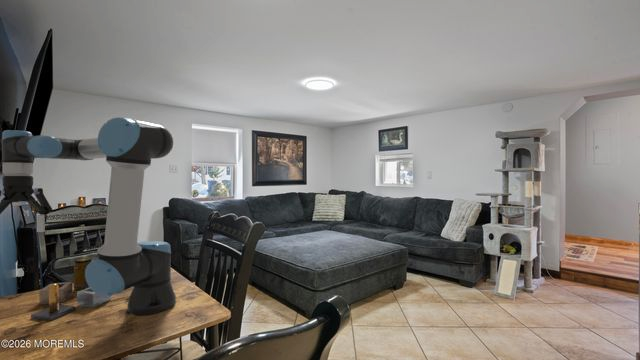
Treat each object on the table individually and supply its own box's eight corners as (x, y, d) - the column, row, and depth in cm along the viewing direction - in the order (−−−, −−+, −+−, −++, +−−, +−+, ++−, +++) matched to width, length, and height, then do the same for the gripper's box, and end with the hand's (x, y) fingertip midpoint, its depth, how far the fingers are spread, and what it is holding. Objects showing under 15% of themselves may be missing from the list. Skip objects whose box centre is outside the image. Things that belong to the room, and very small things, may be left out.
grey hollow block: (110, 299, 111) (110, 286, 111) (93, 308, 104) (93, 293, 104) (95, 297, 113) (95, 284, 112) (77, 305, 106) (77, 292, 106)
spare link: (72, 294, 115) (72, 281, 115) (63, 302, 108) (63, 288, 108) (50, 296, 113) (50, 283, 113) (39, 304, 106) (39, 290, 106)
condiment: (79, 285, 124) (79, 257, 124) (101, 284, 126) (101, 256, 125) (67, 292, 117) (67, 262, 117) (91, 291, 118) (91, 261, 118)
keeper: (75, 309, 103) (75, 280, 102) (50, 320, 95) (50, 289, 95) (57, 307, 104) (57, 278, 104) (30, 318, 97) (30, 287, 96)
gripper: (48, 175, 116) (49, 228, 117) (-40, 175, 92) (-38, 243, 92) (64, 175, 115) (64, 229, 115) (-21, 175, 91) (-20, 244, 91)
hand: (19, 235), depth 104 cm, fingers open, 13 cm apart
